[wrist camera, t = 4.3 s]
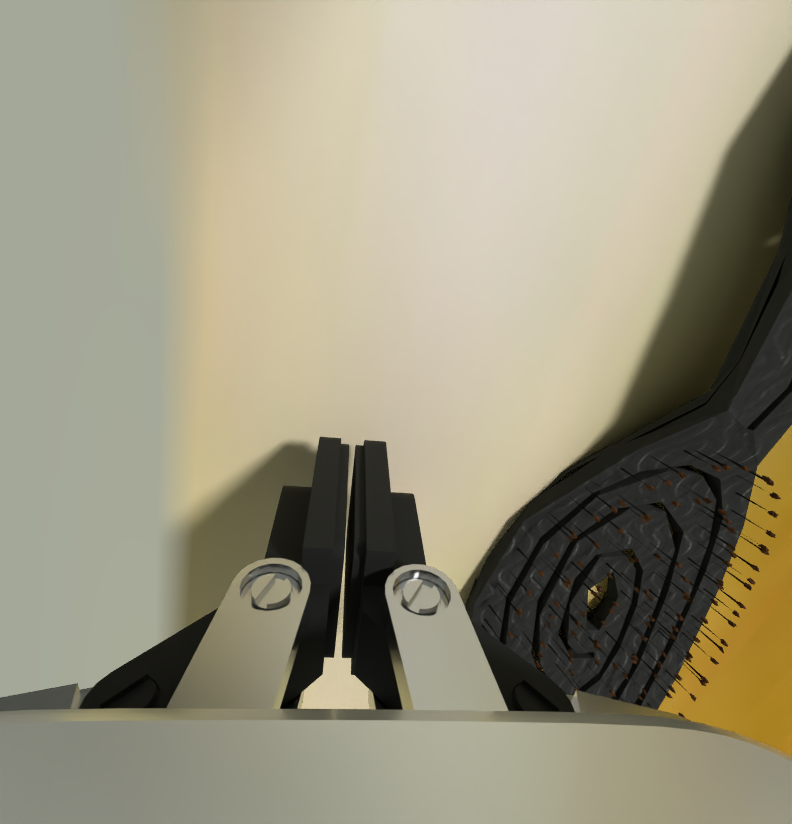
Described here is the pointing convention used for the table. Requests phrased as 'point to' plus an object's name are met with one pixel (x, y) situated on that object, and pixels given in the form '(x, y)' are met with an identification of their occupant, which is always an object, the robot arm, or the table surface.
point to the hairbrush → (646, 526)
